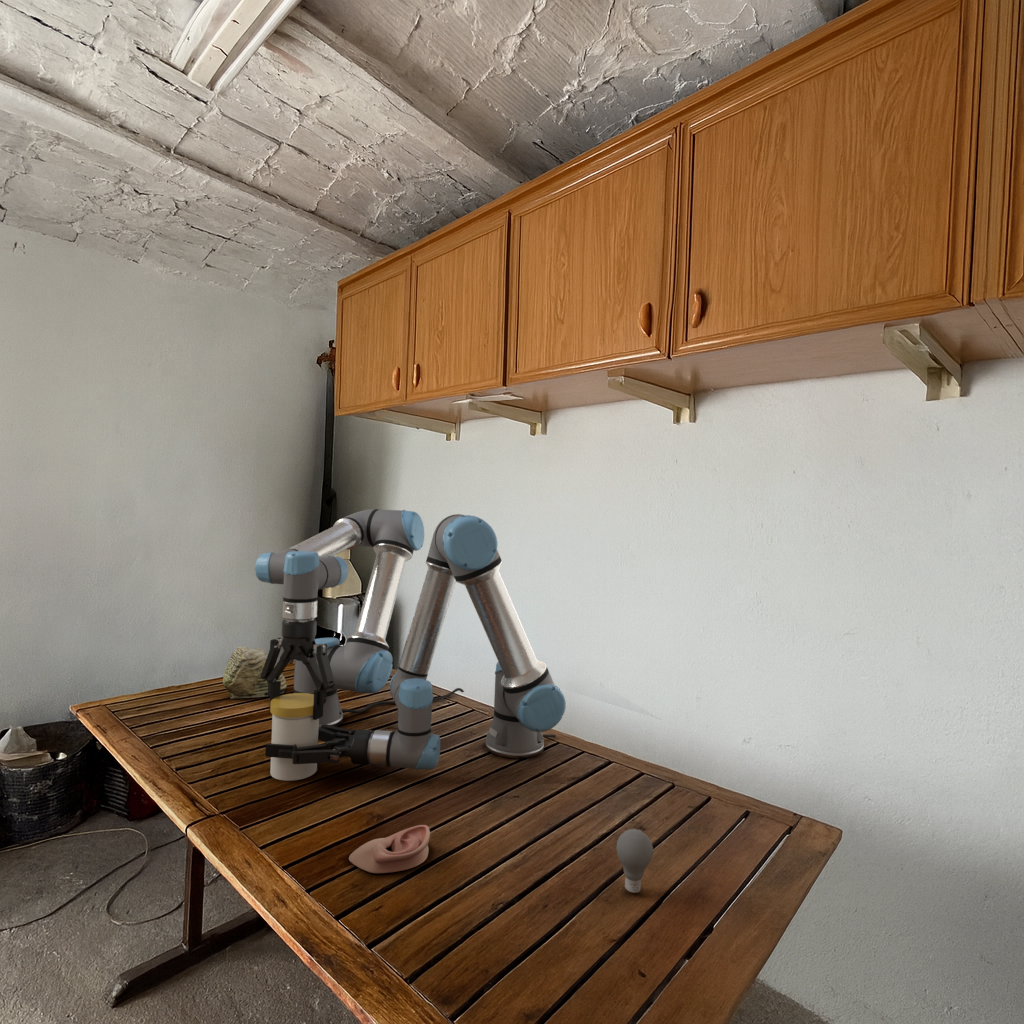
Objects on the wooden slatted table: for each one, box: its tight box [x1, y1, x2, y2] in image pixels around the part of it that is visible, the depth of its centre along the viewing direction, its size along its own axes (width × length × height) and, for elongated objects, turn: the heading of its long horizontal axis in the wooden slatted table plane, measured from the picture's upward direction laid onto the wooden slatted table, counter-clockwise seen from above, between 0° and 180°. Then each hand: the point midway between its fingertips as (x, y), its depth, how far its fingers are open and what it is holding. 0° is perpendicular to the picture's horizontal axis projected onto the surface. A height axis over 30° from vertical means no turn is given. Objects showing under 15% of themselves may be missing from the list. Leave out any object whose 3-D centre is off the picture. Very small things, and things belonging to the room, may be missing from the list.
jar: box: [269, 713, 319, 782], centre depth 145 cm, size 10×10×15 cm
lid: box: [269, 692, 314, 718], centre depth 145 cm, size 11×11×2 cm
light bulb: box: [615, 828, 654, 894], centre depth 106 cm, size 6×6×10 cm
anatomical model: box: [348, 824, 431, 874], centre depth 113 cm, size 13×4×12 cm
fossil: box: [222, 646, 288, 699], centre depth 198 cm, size 9×18×15 cm, turn 132°
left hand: (295, 714), depth 145 cm, fingers closed on lid, 11 cm apart
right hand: (277, 740), depth 146 cm, fingers closed on jar, 10 cm apart
